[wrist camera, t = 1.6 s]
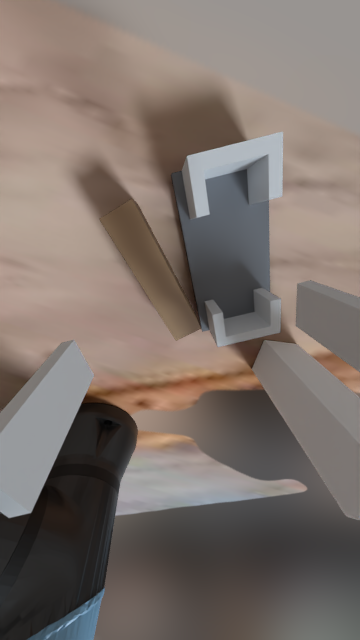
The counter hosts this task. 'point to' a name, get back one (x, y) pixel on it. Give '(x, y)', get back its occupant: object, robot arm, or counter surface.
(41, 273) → the counter surface
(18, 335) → the counter surface
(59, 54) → the counter surface
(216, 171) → the endcap rail
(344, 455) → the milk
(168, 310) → the slat
